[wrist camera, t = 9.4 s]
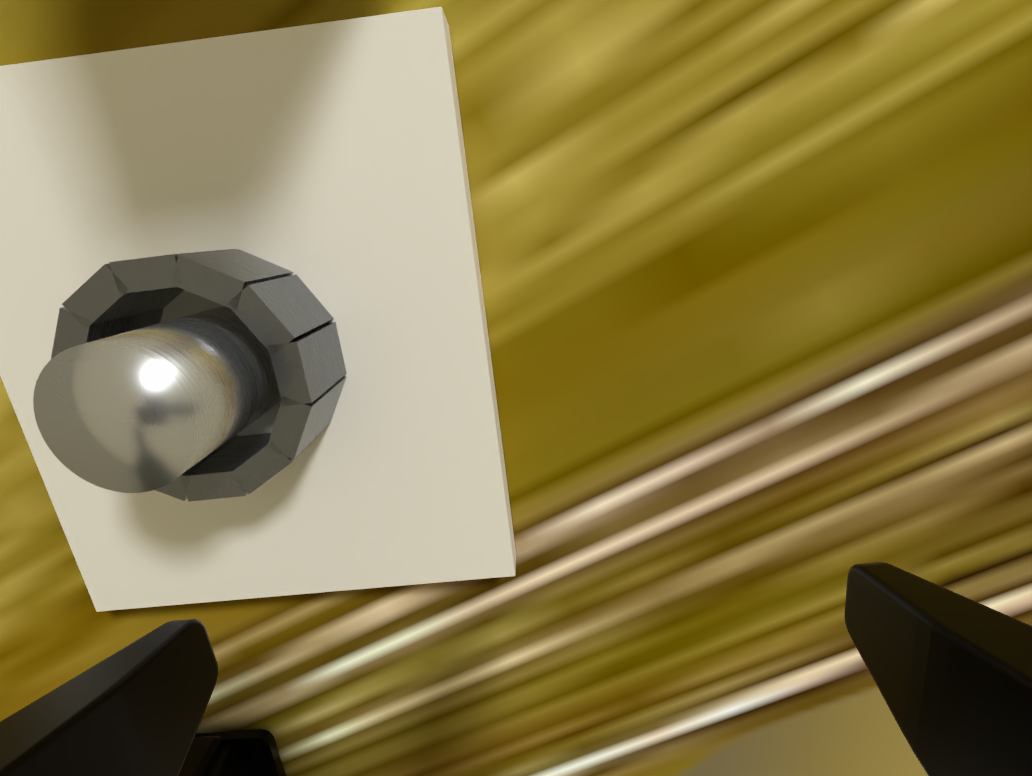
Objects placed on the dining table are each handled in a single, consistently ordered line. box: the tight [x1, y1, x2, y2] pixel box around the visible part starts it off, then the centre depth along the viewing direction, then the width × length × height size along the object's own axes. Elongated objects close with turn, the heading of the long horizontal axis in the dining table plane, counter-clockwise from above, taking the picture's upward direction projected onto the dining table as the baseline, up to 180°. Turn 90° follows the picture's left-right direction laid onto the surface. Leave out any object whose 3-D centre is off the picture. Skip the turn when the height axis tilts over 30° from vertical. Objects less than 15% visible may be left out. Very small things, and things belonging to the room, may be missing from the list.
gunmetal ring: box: [51, 249, 347, 502], centre depth 16 cm, size 7×7×3 cm
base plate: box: [0, 7, 516, 612], centre depth 18 cm, size 18×16×2 cm
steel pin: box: [33, 306, 282, 493], centre depth 15 cm, size 4×4×6 cm
